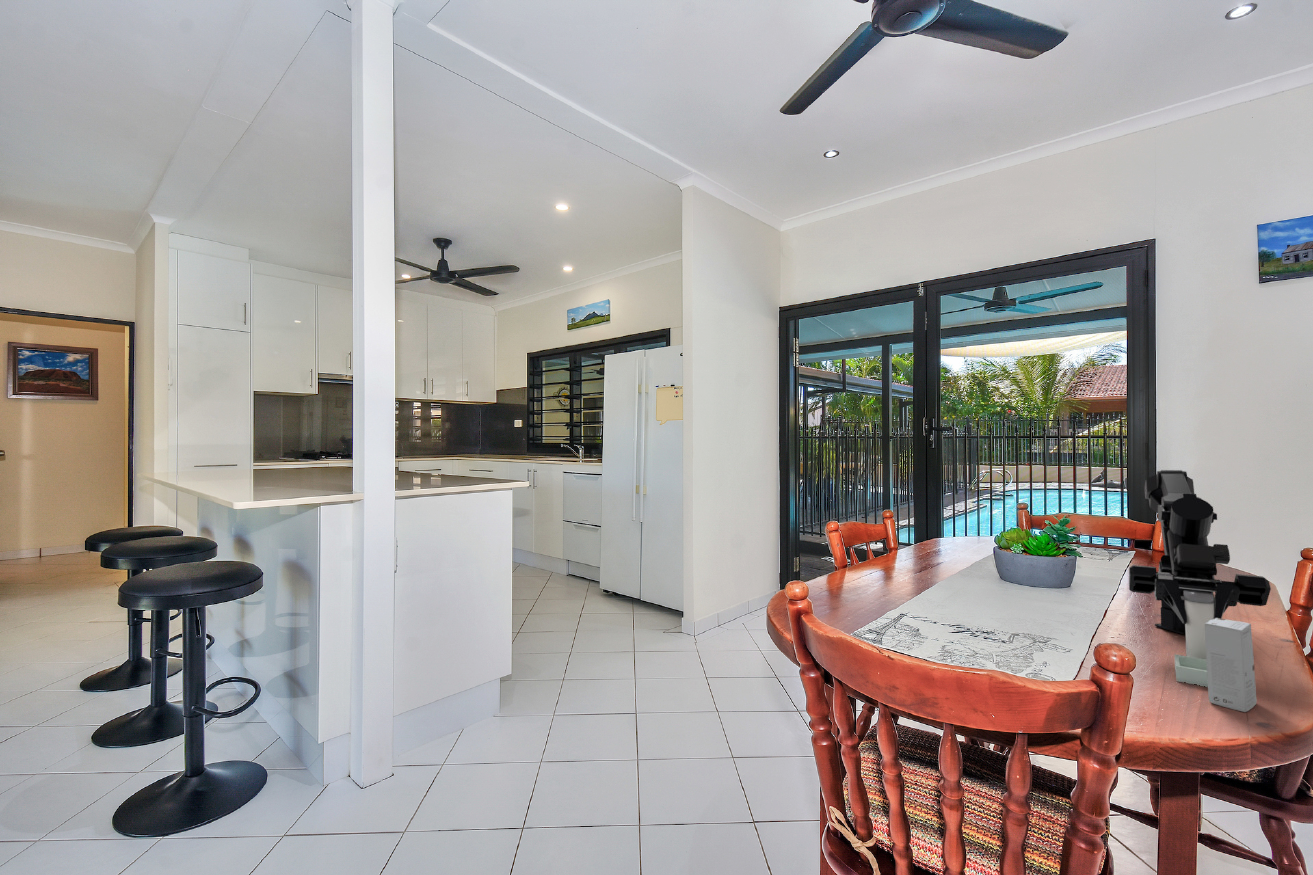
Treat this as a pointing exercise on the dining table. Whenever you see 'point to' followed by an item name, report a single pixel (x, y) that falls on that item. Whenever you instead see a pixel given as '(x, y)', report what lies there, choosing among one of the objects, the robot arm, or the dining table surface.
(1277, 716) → the dining table surface
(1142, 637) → the dining table surface
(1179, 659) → the tray
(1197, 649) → the cylinder
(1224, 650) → the skincare box
